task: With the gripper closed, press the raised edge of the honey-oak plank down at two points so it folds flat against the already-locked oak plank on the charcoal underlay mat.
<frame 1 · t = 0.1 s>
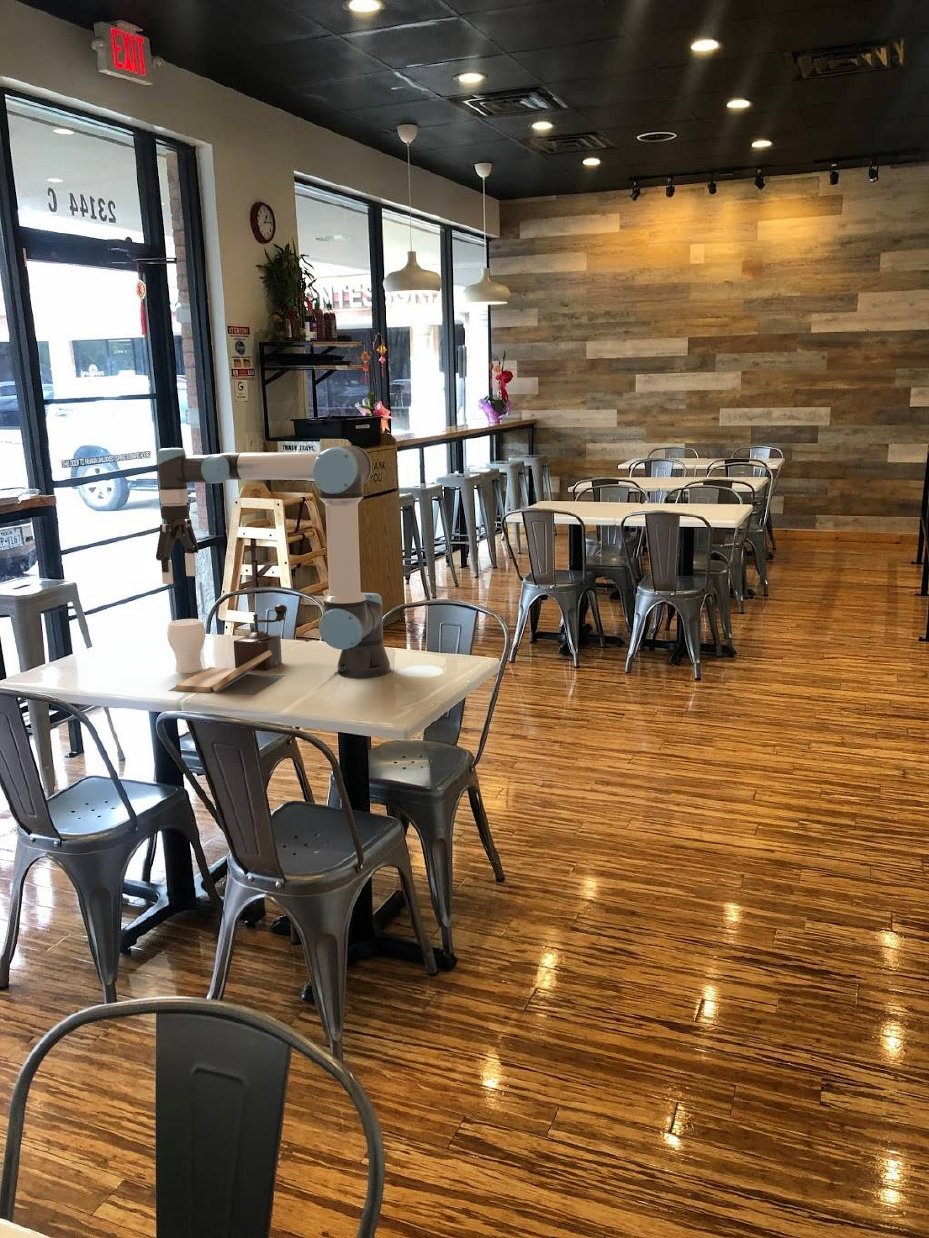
hand: (179, 579, 296), 28 cm above the table, fingers open, 13 cm apart
locked plank: (228, 682, 289), resting on underlay
underlay: (228, 686, 289), on the table
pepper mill: (264, 667, 310), on the table
plank: (242, 669, 287), point 5 cm above the table, hinge at 35.0°
cup: (189, 673, 305), on the table
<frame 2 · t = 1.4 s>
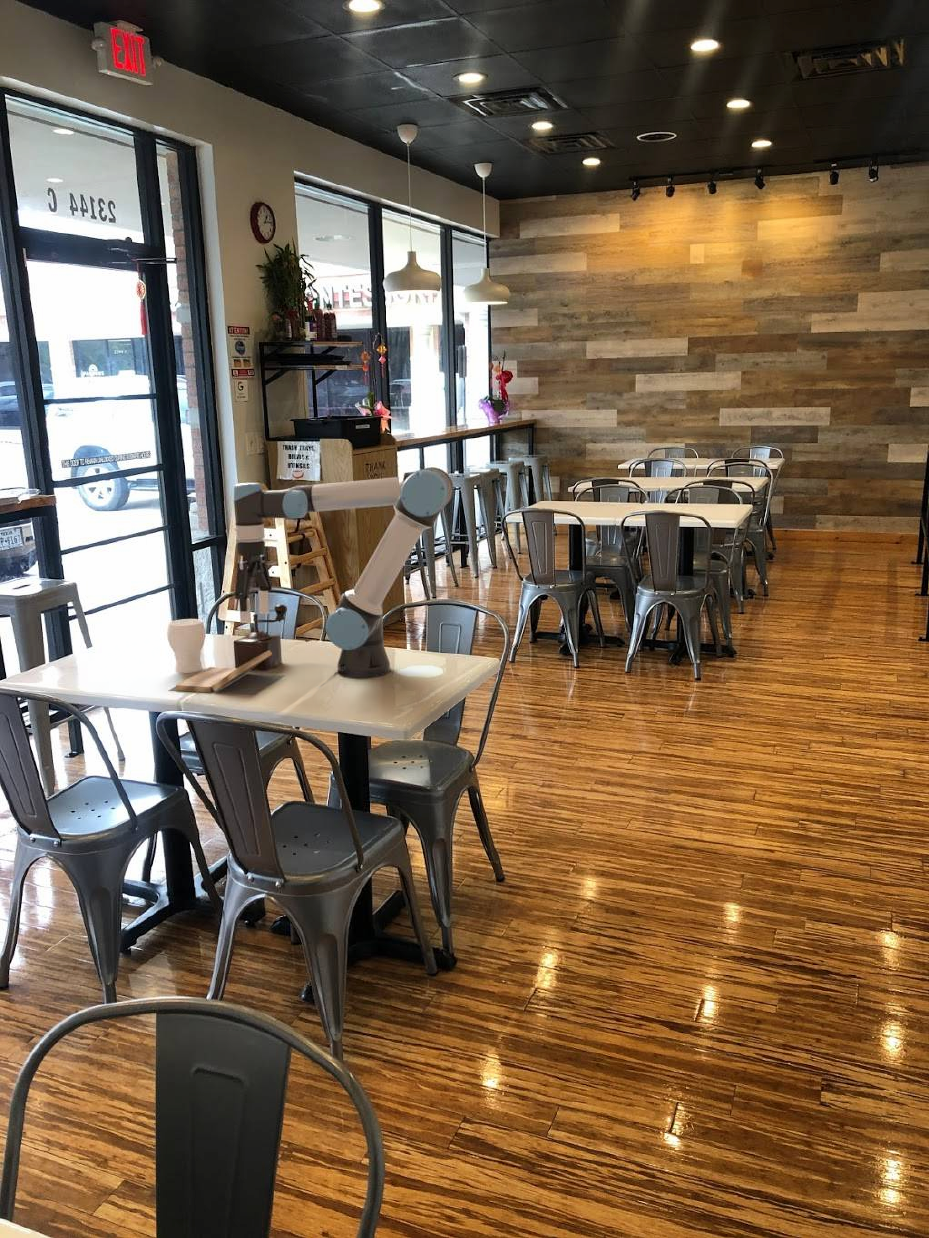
hand: (255, 618, 290), 18 cm above the table, fingers open, 12 cm apart
nothing on the table moved.
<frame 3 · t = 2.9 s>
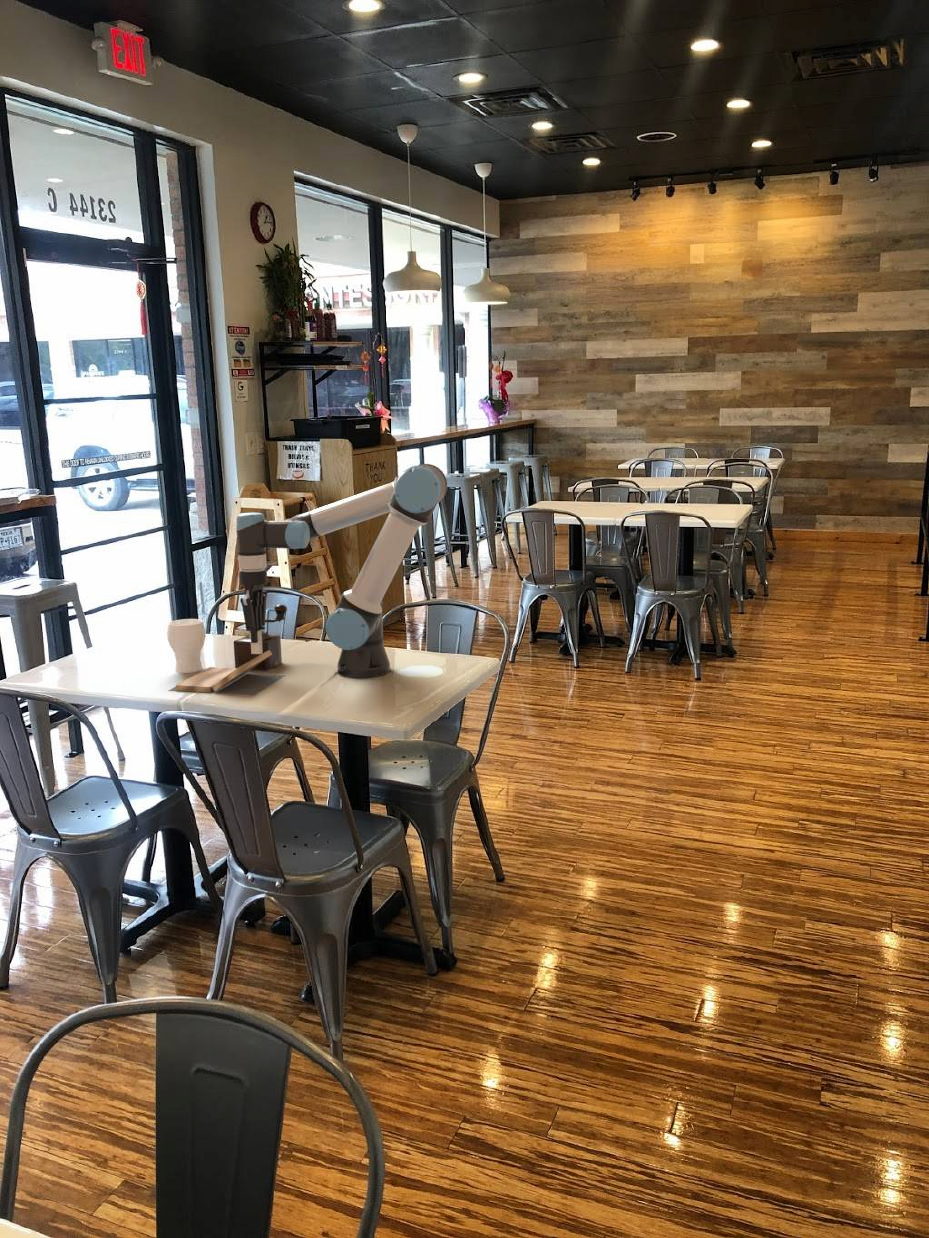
hand: (256, 653, 292), 8 cm above the table, fingers closed
plank: (242, 669, 287), point 5 cm above the table, hinge at 35.0°, touching gripper
everything else where it was.
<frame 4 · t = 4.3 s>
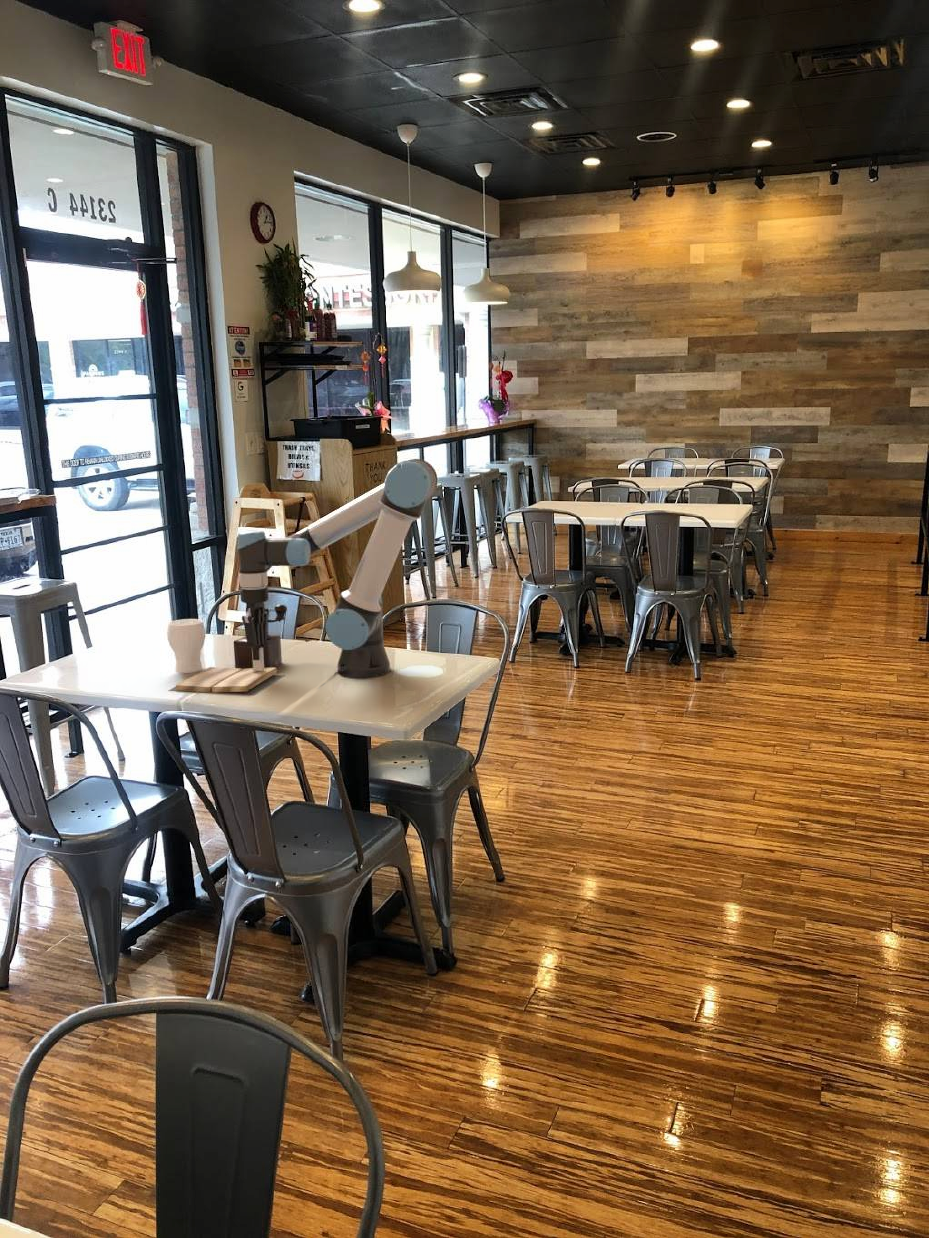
hand: (258, 670, 293), 3 cm above the table, fingers closed
plank: (245, 679, 288), point 2 cm above the table, hinge at 4.5°, touching gripper
everything else where it was.
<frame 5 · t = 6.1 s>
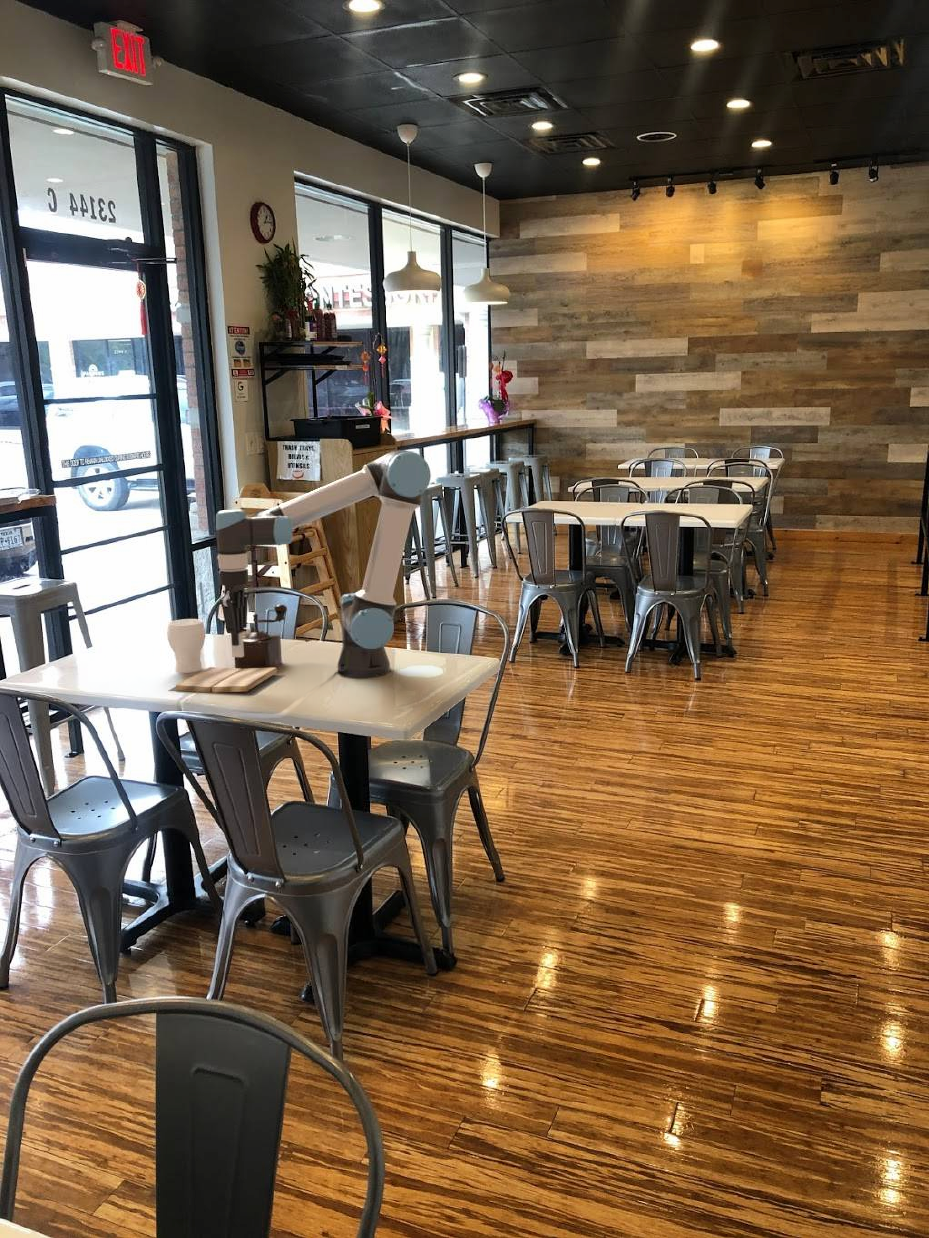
hand: (238, 656, 280), 10 cm above the table, fingers closed
plank: (245, 679, 288), point 2 cm above the table, hinge at 4.4°
everything else where it was.
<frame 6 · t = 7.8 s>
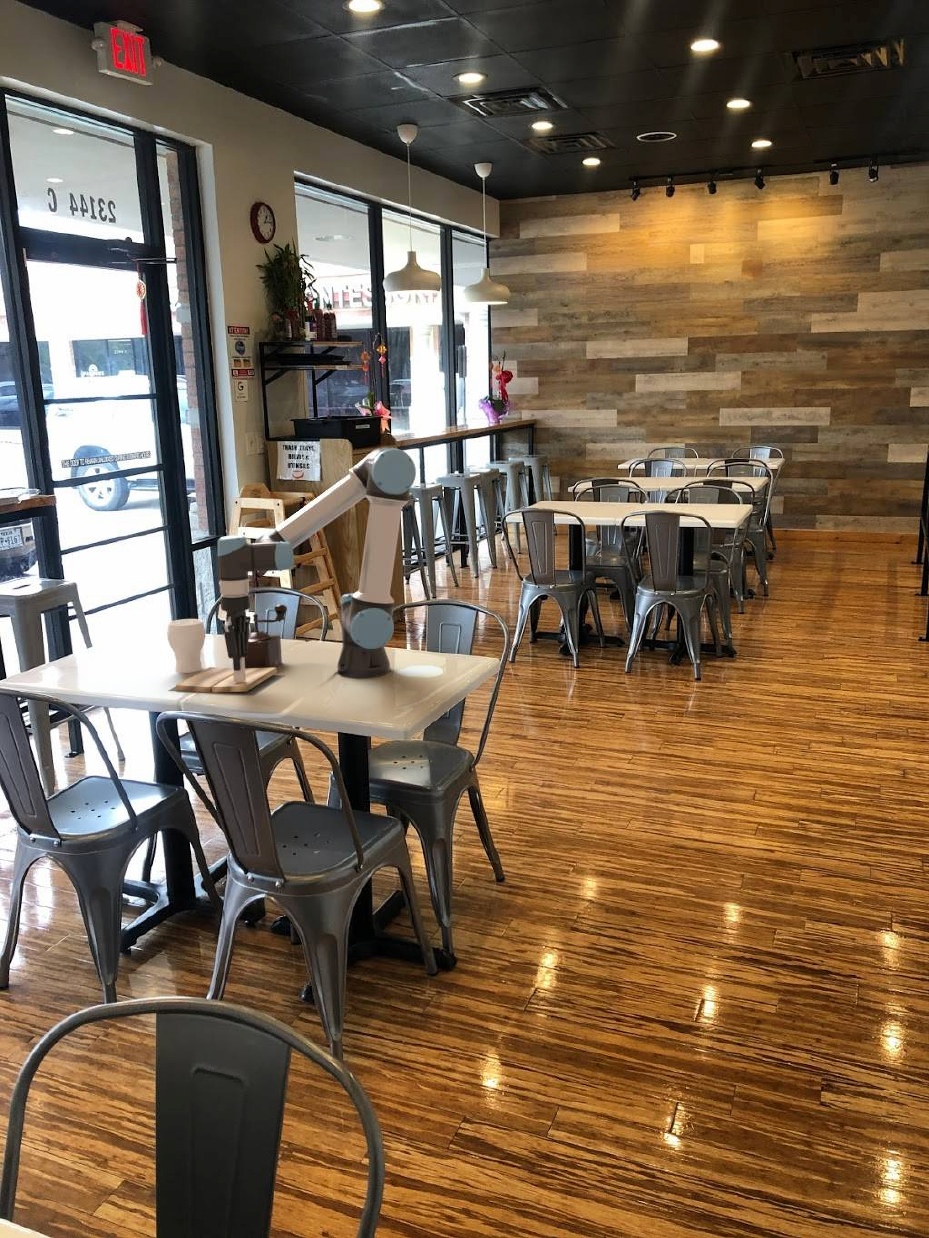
hand: (239, 681, 281), 3 cm above the table, fingers closed
plank: (245, 679, 288), point 2 cm above the table, hinge at 4.4°, touching gripper
everything else where it was.
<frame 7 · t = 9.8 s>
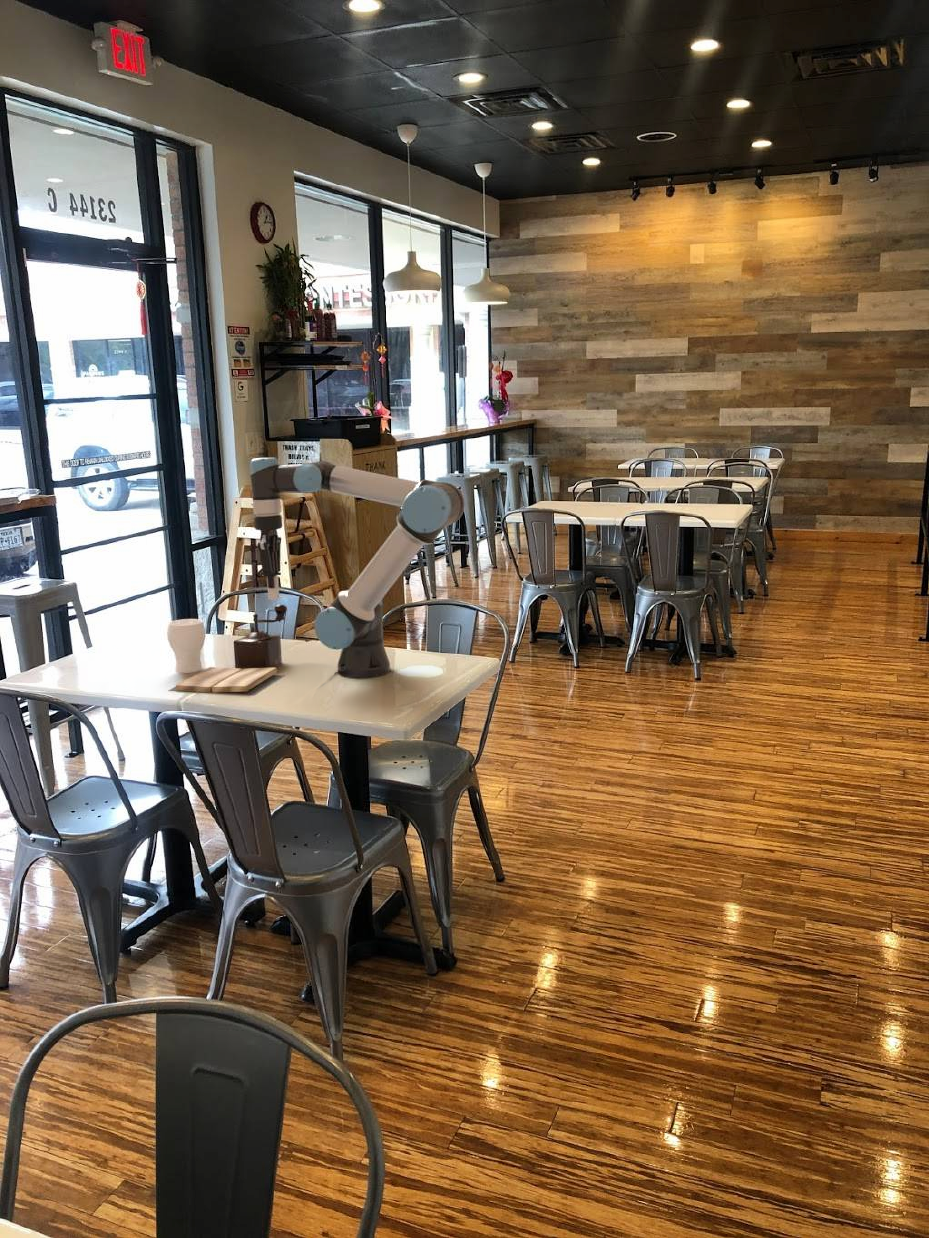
hand: (273, 599, 293), 23 cm above the table, fingers closed
plank: (245, 679, 288), point 2 cm above the table, hinge at 4.4°
everything else where it was.
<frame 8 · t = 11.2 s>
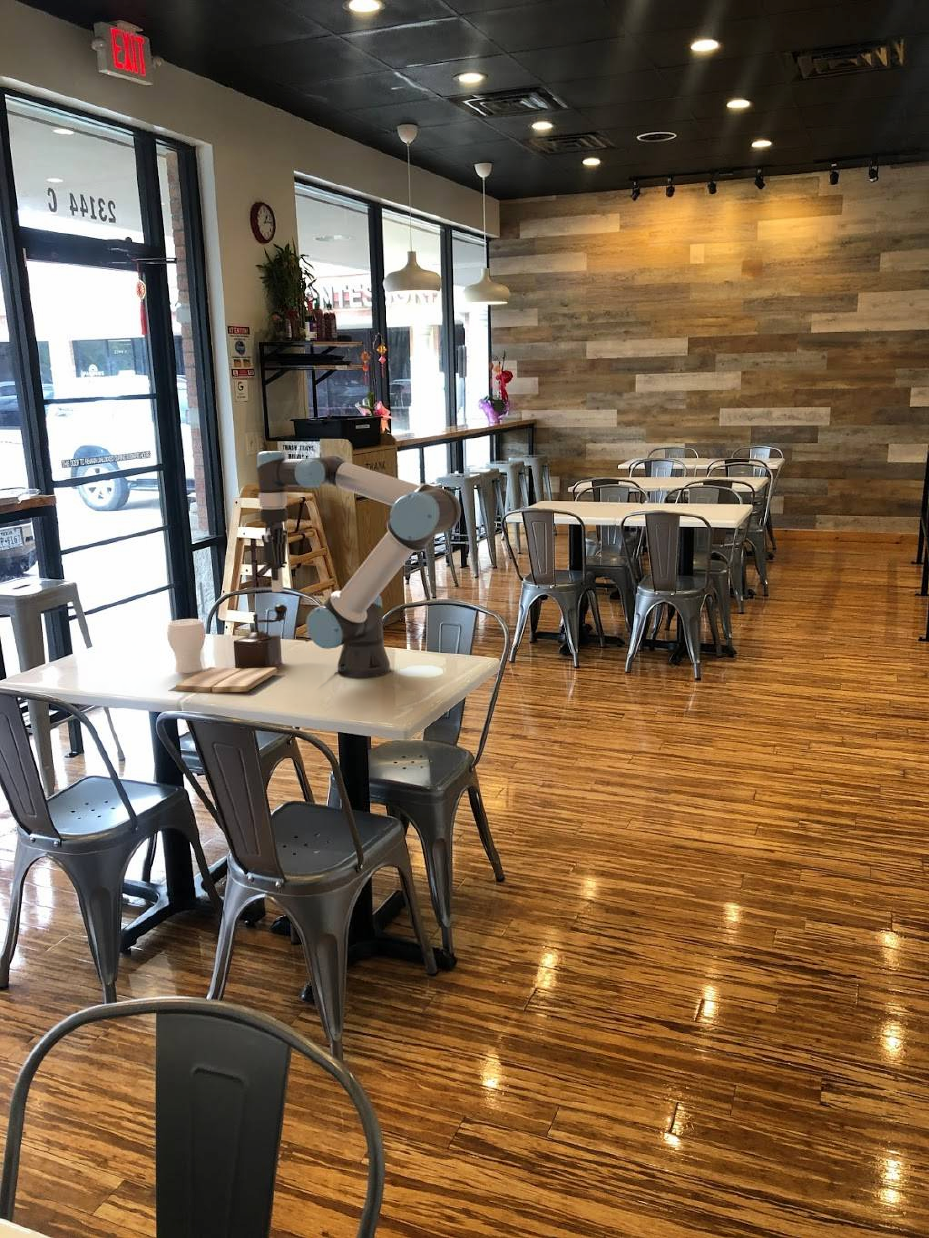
hand: (277, 591, 295), 24 cm above the table, fingers closed
nothing on the table moved.
at the end: plank at +4° (first picture: +35°) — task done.
